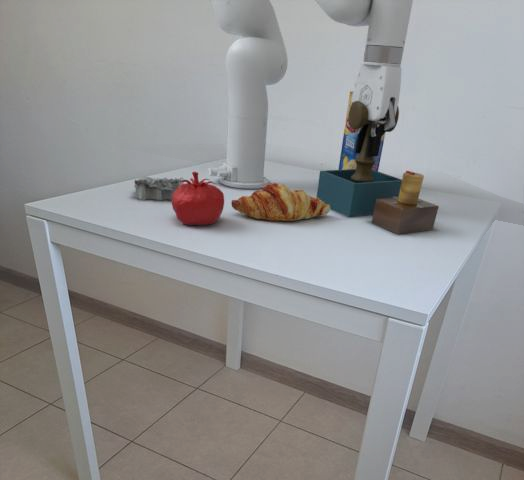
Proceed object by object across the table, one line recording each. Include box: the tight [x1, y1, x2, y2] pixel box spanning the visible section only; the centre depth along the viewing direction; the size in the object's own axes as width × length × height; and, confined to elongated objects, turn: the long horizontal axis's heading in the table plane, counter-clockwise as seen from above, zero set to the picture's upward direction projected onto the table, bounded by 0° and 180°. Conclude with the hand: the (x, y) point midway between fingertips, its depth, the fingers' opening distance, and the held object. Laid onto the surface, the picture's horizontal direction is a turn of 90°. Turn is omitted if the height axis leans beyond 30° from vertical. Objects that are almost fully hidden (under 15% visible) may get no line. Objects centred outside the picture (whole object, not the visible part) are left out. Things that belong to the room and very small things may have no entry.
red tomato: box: [171, 171, 225, 226], centre depth 92 cm, size 10×10×9 cm
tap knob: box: [398, 170, 425, 205], centre depth 98 cm, size 4×4×6 cm
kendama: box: [348, 101, 400, 183], centre depth 105 cm, size 6×10×20 cm, turn 110°
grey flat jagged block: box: [134, 176, 184, 201], centre depth 107 cm, size 11×8×4 cm
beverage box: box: [337, 91, 386, 172], centre depth 126 cm, size 7×11×22 cm, turn 11°
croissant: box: [230, 182, 331, 222], centre depth 100 cm, size 21×10×8 cm, turn 103°
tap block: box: [371, 196, 440, 235], centre depth 101 cm, size 10×8×5 cm
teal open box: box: [316, 169, 402, 218], centre depth 111 cm, size 15×13×7 cm
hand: (366, 153), depth 107 cm, fingers closed on kendama, 2 cm apart
